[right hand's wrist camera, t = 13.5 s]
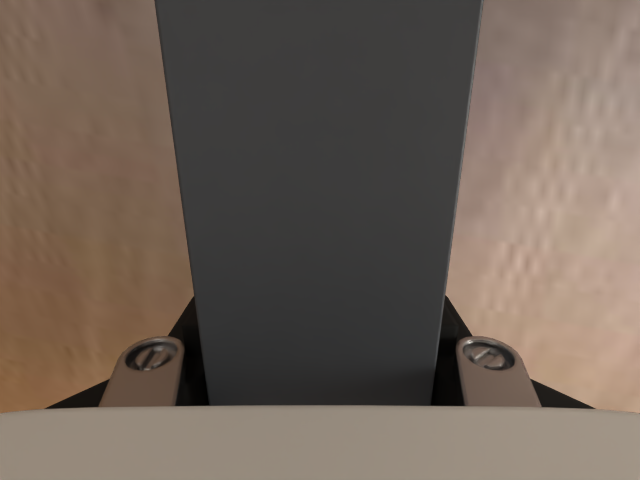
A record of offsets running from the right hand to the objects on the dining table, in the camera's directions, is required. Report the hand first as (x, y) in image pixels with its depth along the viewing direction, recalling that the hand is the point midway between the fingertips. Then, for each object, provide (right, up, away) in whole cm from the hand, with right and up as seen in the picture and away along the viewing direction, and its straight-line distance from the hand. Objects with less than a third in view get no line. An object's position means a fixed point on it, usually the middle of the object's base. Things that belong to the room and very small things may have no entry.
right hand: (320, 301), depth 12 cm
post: (0, +24, -7) cm, 25 cm away
